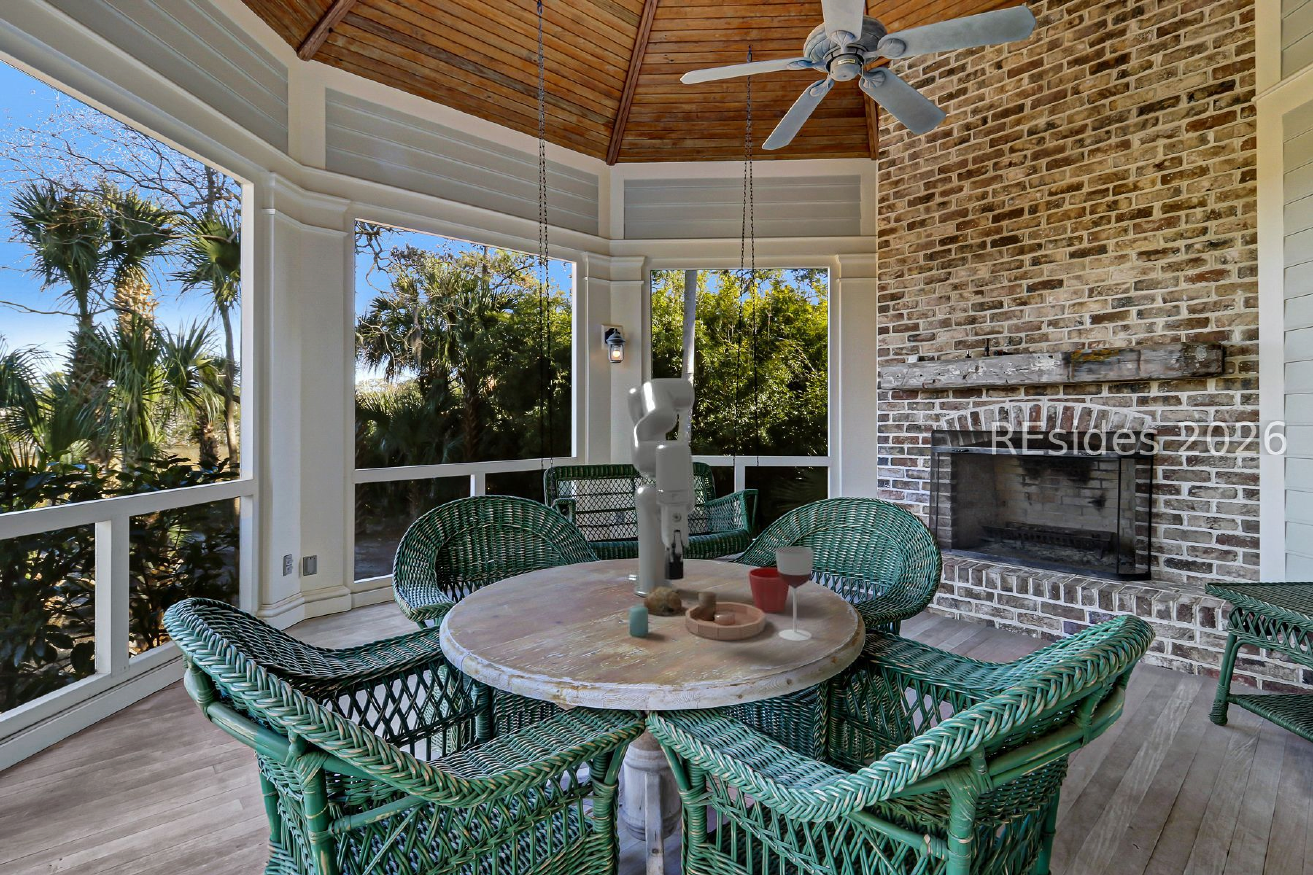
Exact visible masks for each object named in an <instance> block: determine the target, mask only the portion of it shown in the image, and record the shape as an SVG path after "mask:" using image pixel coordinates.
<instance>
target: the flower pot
mask: <svg viewBox="0 0 1313 875" xmlns="http://www.w3.org/2000/svg"><path fill="white" fill-rule="evenodd" d="M748 578H749V583H750V589H751V590H750V591H751V595H752V600H753V604H754V607H756V608H758V609H760V610H762V611H763V613H764V614H765V613H767V614H775V613H779V612H780V613H781V612H784V611H785V609H786V604H787V599H788V593H789V589H790V585H788V584H786V583H785V582H783V581H782V580H781V578H780V576H779V573H778V568H777V567H758V568H753V569H751V570H749V572H748Z"/></svg>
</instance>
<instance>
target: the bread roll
mask: <svg viewBox="0 0 1313 875" xmlns="http://www.w3.org/2000/svg"><path fill="white" fill-rule="evenodd" d="M681 598H682V597H681V596H680V595H679V594H678V593H677V592H675V591H674V590H673V589H670V588H668V587H658V588H656V589H654V590H652V591H651V592H650V593H649V594H648V595H647V596H646V597H644V598H643V607H647V608H648V614H651V615H655V616H664V617H665V616H666V617H667V616H669V615H675V614H677V613H679V612H681V610H682V607H683V602H682V599H681Z"/></svg>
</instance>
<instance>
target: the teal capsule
mask: <svg viewBox="0 0 1313 875" xmlns="http://www.w3.org/2000/svg"><path fill="white" fill-rule="evenodd" d="M628 610H629V613H628V614H629V635H630V637H634V638H644V637H647V636H649V613H648V608H647V607H644V605H643V606H642V605H640V606H639V605H637V606H632V607H629V609H628Z"/></svg>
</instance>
